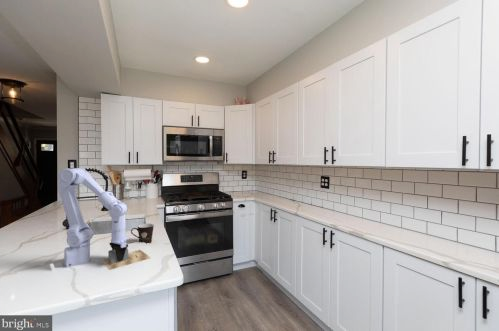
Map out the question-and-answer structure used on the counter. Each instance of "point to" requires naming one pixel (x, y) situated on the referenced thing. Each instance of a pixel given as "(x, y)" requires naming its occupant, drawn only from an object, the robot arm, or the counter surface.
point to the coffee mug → (145, 232)
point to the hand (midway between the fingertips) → (118, 258)
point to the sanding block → (113, 257)
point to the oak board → (132, 258)
